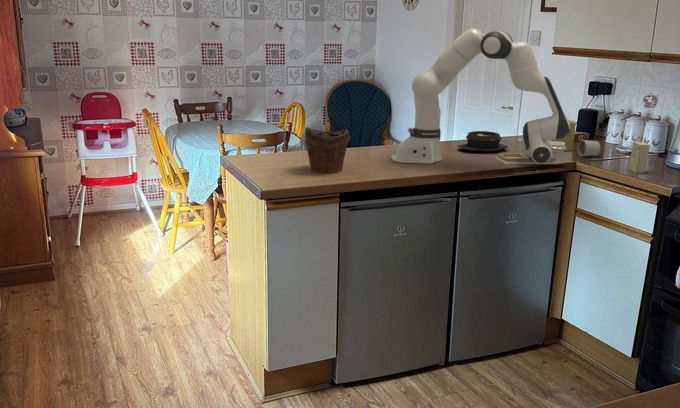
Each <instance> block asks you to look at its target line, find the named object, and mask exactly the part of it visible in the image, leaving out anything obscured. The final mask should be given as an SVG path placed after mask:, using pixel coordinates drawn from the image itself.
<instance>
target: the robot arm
mask: <svg viewBox="0 0 680 408" xmlns="http://www.w3.org/2000/svg"><path fill="white" fill-rule="evenodd" d="M480 54H483V56H485V57H486V58H488V59H492V60H496V59H497V60H505V61H506V63H507V67H508V71H509V72H508V73H509V76H510V79H511V82H512V85H513V86H514V87H515V88H517V89H518V90H519V91H525V92H530V93H531V92H532V93H539V94H541V95H543V96H544V97H545V98H546V100H547V102H548V105H549V107H550V110H551V112H552V115H549V116H546V117H542V118H536V119H532V120H529V121H526V122H525V123H524V125H523V127H522V139H521V138H518V139H517V142H516V148H517V151H519V153H520V154H524V155H529V156H531V157H532V159H533V160H534V161H535V162H537V163H546V162H547V161H549V160H550V158H551V156H553V153H563V152H565V151H564V150H566V147H565V142H557V141H549V140H554V139H562V138H565V137H566V136H567V135H568V134H569V132H570V123H569V121H568V120H569V119H568V117H567V116H566V114H565V112H564V110H563V107H562V105H561V102H560V101H559V99H558V95H557V93H556V91H555V89H554V87H553V85H552V82H551V80H550V78H549V77H548V76H544V75H543V74H542V73H541V72H540V70H539V67H538V63H537V62H538V61H537V60H536V56H535V54H534V51H533V48H532V46H531V44H530V43H529V42H528V41H516V42H514V40H513V37H512V36H511V35H510V34H509V32H506V31H503V30H494V31H490V32H487V33H486V34H484V33H483V32H482V31H481V30H480V29H477V28H475V27H474V28H473V27H471V28H469V29H467V30H466V31H464V32H463V33H462V34H460V35H459V36H458V37H457V38H456V39H455V40H454V41H453V42H451V44H450V45H449V46H448V47H447V48H446V49H445V50H443V52H442V53H441V54H440V55H439V56H438V57H437V59H436V60H435V62H434V63H433V64H432V66H431V67H430V68H429V69H428V70H427V71H424V72H420V73H418V74H417V75H416V76H415V77H414V79H413V80H412V83H411V89H412V92H413V101H414V102H413V103H414V108H415V109H414V111H415V113H414V115H415V116H414V127H413V128H411V127H408V128H407V132H408V133H409V136H408V137H407V138H405V139H404V140H403V141H401V142H400V143H399V144H398V145H397V148H396V152H395V154H392V155H391V157H390V158H391V160H392V161H394V162H396V163H404V164H405V163H406V164H407V163H408V164H409V163H410V164H434V163H437V162H440V161H442V155H441V147H440V141H441V134H442V133H441V128H440V127H441V107H440V102H439V101H440V100H439V95H440V94H441V93H443V92H444V91H445V89H446V88H447V87H448V86H450V84H451V82H452V81H454V79H455V78H456V77H457V76H458V74H460V73H461V72H462V71H463V70H464V69H465V67H467V66H468V64H470V63H471V61H473V60H474V59H475V58H476V57H477V56H478V55H480Z"/></svg>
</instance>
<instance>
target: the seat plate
mask: <svg viewBox="0 0 680 408" xmlns="http://www.w3.org/2000/svg"><path fill="white" fill-rule="evenodd" d="M494 158H495V159H496V160H498V161H499V162H500V163H502V164H504V165H559V164H558V163H559V162H558V161H557V157H555V156H553V155H552V156H551V158H550V160H549V161H547V162H546V163H537V162H535V161H534V160H533V159H532V157H531V156H529V155H524V154H520V152H517V153H516V152H514V153H510V152H509V153H507V152H506V153H505V152H504V153H497V154H496V156H495V157H494Z"/></svg>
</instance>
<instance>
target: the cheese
mask: <svg viewBox="0 0 680 408" xmlns="http://www.w3.org/2000/svg"><path fill="white" fill-rule="evenodd" d="M568 121H569V123H570V132H569V134H568V135H567V136H566V137H565V138H562V139H554V140H550V141H557V142H565V147H566V150H564V152H572V151H573V147H574V146H573V145H574V142H575V141H574V140H575V133H576V125H577V122H576V121H574V120H569V119H568Z"/></svg>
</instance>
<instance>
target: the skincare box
mask: <svg viewBox="0 0 680 408" xmlns="http://www.w3.org/2000/svg"><path fill="white" fill-rule="evenodd" d="M650 148H651V144H649V143H646V142H643V141H633V142H632V147H631V155H630V159H629V165H628V170H629V171H631V172H633V173H636V174H646V170H647V164H648V159H649V155H650Z"/></svg>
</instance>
